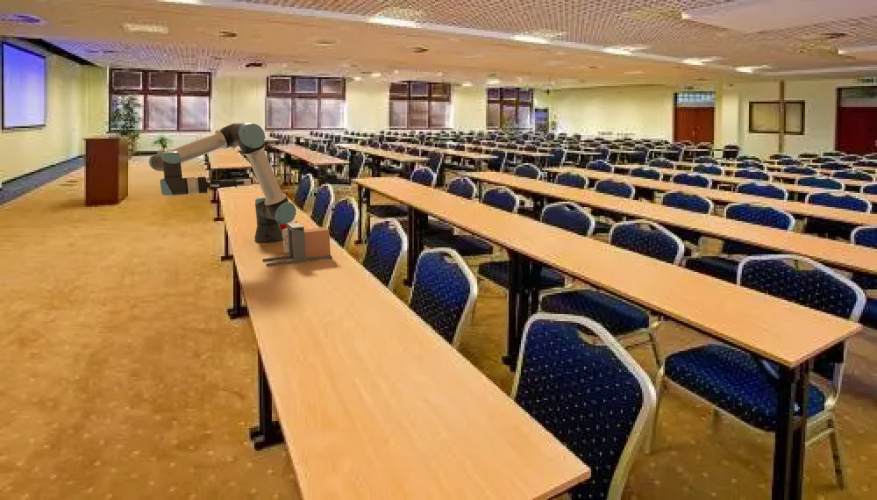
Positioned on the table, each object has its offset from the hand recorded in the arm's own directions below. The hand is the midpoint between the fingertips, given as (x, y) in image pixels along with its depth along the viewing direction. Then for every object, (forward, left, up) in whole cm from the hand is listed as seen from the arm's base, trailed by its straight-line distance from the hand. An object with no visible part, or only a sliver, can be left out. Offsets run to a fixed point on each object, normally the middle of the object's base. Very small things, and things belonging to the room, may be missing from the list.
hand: (250, 182), depth 289 cm
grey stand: (-3, +25, -35) cm, 43 cm away
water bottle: (-50, -41, -35) cm, 74 cm away
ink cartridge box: (-13, +10, -35) cm, 39 cm away
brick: (-9, +29, -35) cm, 46 cm away
